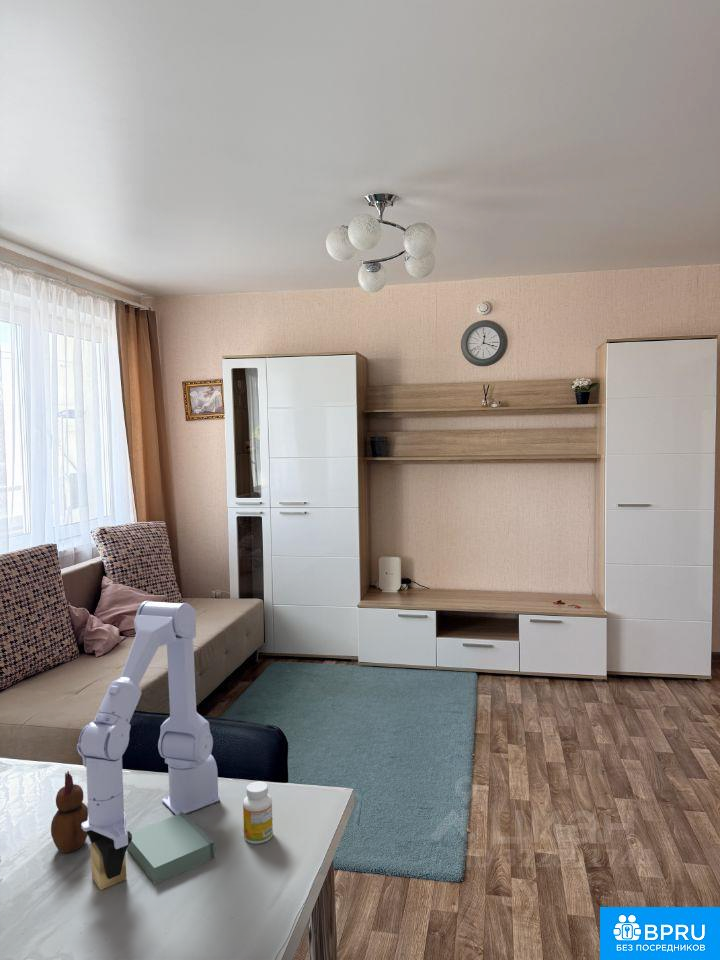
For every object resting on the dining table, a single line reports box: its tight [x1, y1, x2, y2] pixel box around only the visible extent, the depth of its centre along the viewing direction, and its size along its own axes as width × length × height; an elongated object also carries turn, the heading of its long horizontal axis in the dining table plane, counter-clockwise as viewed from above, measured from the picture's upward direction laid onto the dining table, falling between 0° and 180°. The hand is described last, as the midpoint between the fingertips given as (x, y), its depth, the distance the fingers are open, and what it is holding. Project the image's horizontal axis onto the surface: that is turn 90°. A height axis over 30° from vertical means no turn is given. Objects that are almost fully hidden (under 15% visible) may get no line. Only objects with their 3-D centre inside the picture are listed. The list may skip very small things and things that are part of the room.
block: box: [89, 842, 127, 891], centre depth 117 cm, size 4×4×6 cm
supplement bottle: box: [242, 781, 274, 845], centre depth 128 cm, size 5×5×10 cm
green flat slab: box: [127, 812, 215, 884], centre depth 124 cm, size 11×13×3 cm
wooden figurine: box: [50, 770, 88, 853], centre depth 126 cm, size 7×6×15 cm
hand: (108, 868), depth 117 cm, fingers closed on block, 4 cm apart
